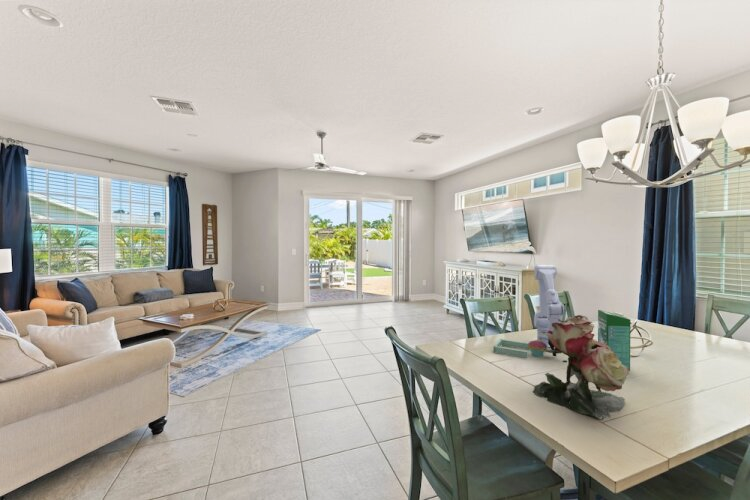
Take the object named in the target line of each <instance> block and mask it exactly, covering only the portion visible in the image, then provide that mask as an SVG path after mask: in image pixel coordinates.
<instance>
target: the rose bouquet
mask: <svg viewBox="0 0 750 500" xmlns="http://www.w3.org/2000/svg"><path fill="white" fill-rule="evenodd" d="M558 321H560V322H561V323H552V327H553V328H554V330H553V331H554V332H553V331H550V330H548V332H547V333H546V332H542V333H544V334H546V335H547V336H548V338H549V340H550V342H551V343H552V344H553V345H554V346H555V348H557V349H556V350H551V348H550V349H549V348H547V349H544V350H541V351H540V352H544V353H551V354H552V353H557V354H563V355H565V356H567V360H566V359H565V360H564V359H563V360H562V363H568V364H567V365H566V366H567V368H566V381H565V382H563V381H562V378H559V377H557V376H555V375H554V374H553V373H549V372H546V373H544V375H545V377H546V381H547V382H546V381H541V382H540V383H539V384H536V385H534V387H533V391H532V393H533V394H534V395H535V396H536V397H539V398H540V399H543V398H544V399H546V401H547V402H549V403H552V404H555V405H557V406H560V407H565V408H568V409H571V410H572V411H575V412H576V413H580V414H582V415H585V416H590V417H595V418H596V419H598V420H602V421H603V420H604V419H606V417H608V418H610V419H611V420H614V421H615V419H613V418H611V416H610V412H621V410H622V409H623V408H624V404H625V400H626V399H625V398H624V397H622V396H617V395H614V394H612V393H610V392H615V391H617V390H622V389H623V387H622V386H623V385H624V384H625V381H626V380H627V376H628V374H629V372H630V371H629V368H628V367H626V366H624V365H622V363H621V361H619V360H618V359H619V358H618V356H616V354H615V353H614V352H613V351H612V350H611V349H610V348H609V347H608V346H607V344H605V343H602V342H598V340H596V339H594V337H595V334H594V333H592V332H593V331H594V328H595V324H593V322H592V321H590V320H589V319H588V317H587V316H585V315H582V314H577V315H574V316H570V317H566V318H565V320H564V321H563V320H562V319H561V320H560V319H558ZM557 354H556V355H557ZM573 376H575V378H577V382H571V378H572V377H573ZM589 383H592V384H593V385H594V386H595V389H596V390H595V389H590V387H589ZM603 391H605V392H603ZM544 399H543V400H544Z"/></svg>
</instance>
